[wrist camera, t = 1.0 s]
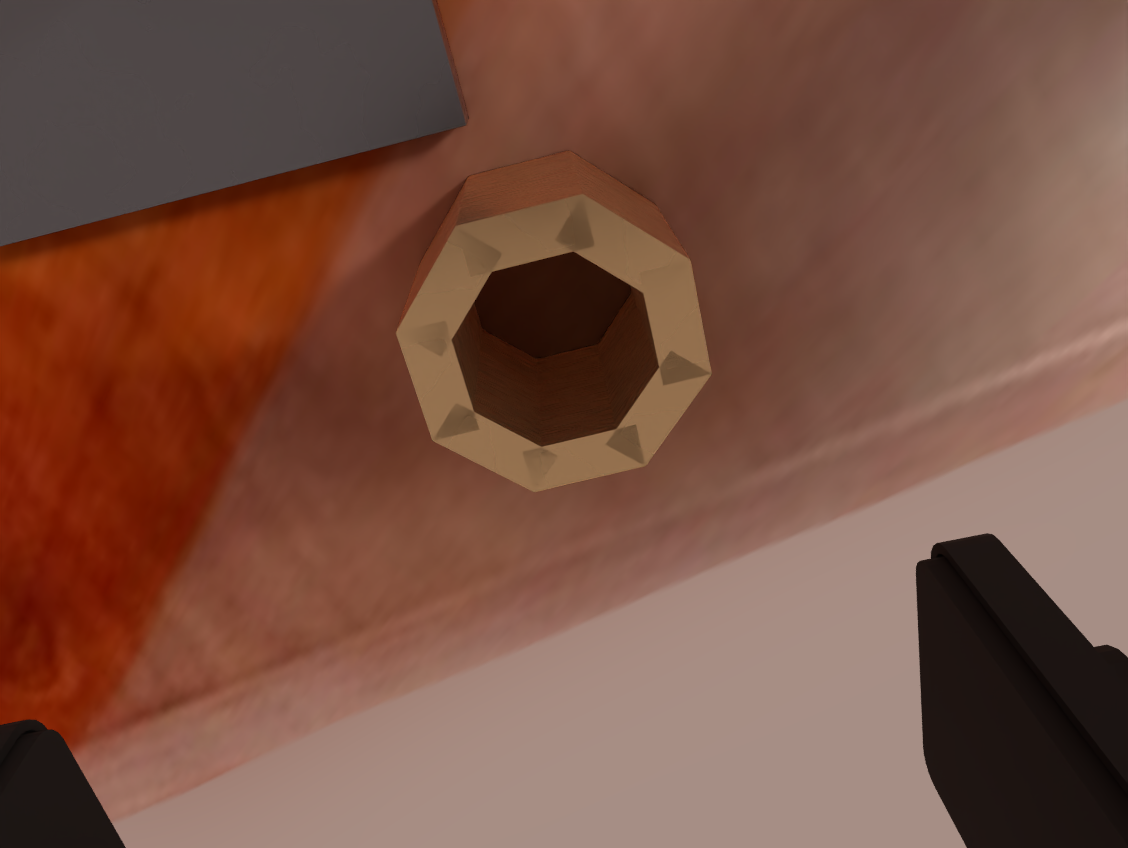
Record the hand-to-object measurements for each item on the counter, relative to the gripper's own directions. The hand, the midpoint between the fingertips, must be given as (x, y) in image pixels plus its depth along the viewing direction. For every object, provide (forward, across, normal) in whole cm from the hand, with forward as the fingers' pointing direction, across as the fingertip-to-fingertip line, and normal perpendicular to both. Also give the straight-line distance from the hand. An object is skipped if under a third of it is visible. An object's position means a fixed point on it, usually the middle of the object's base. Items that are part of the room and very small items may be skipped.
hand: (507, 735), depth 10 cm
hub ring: (+19, -1, +1) cm, 19 cm away
